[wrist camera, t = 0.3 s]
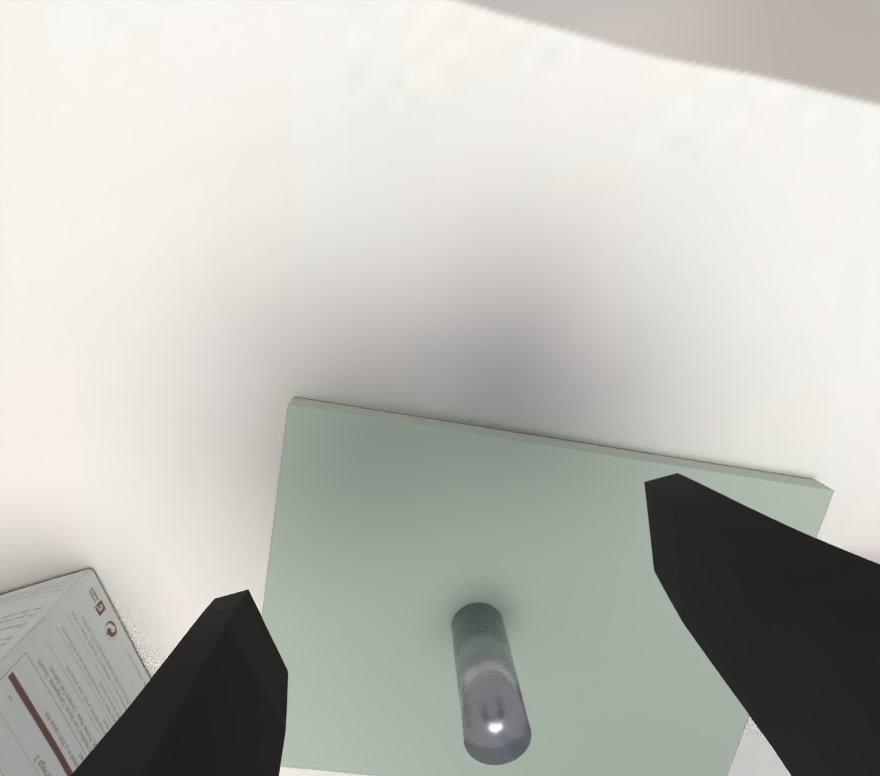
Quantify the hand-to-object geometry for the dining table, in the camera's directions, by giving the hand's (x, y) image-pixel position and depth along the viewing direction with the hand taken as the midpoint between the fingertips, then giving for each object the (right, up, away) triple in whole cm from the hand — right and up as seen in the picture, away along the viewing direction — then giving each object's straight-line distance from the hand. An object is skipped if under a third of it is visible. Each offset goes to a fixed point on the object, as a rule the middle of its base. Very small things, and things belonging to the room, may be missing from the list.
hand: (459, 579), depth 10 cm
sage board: (+3, -6, +12) cm, 14 cm away
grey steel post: (+1, -5, +12) cm, 13 cm away
